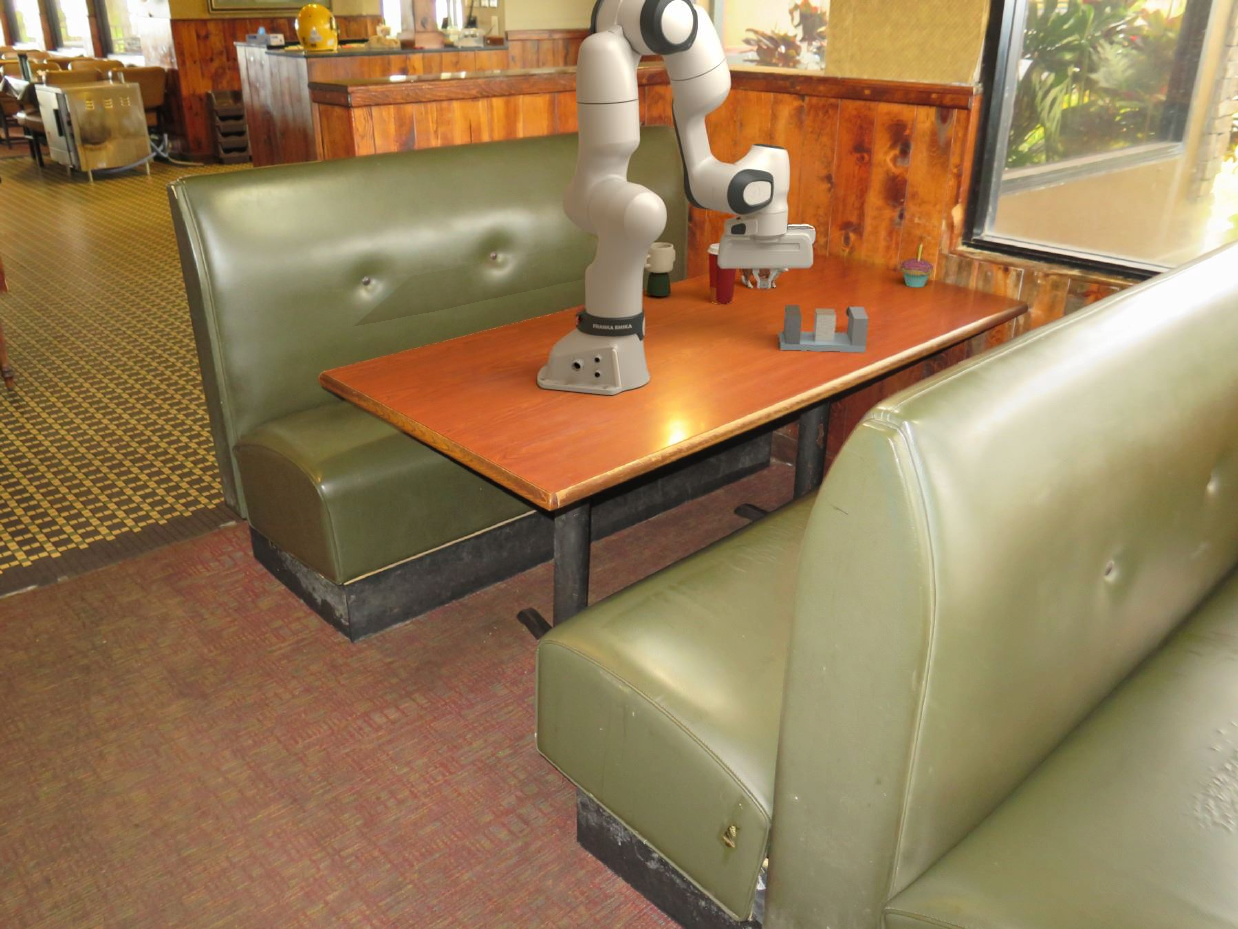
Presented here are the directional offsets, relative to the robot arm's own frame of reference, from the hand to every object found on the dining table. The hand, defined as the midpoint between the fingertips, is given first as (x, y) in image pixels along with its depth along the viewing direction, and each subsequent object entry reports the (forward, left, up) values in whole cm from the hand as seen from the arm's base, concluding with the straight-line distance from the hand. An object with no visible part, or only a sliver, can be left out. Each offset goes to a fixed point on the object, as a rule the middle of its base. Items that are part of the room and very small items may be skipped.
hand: (763, 288), depth 216 cm
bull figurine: (+2, +47, -13) cm, 49 cm away
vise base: (+13, +4, -12) cm, 18 cm away
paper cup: (-9, +33, -13) cm, 37 cm away
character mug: (-25, +37, -13) cm, 47 cm away
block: (+14, 0, -11) cm, 17 cm away
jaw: (+7, 0, -11) cm, 13 cm away
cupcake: (+42, +53, -13) cm, 69 cm away
